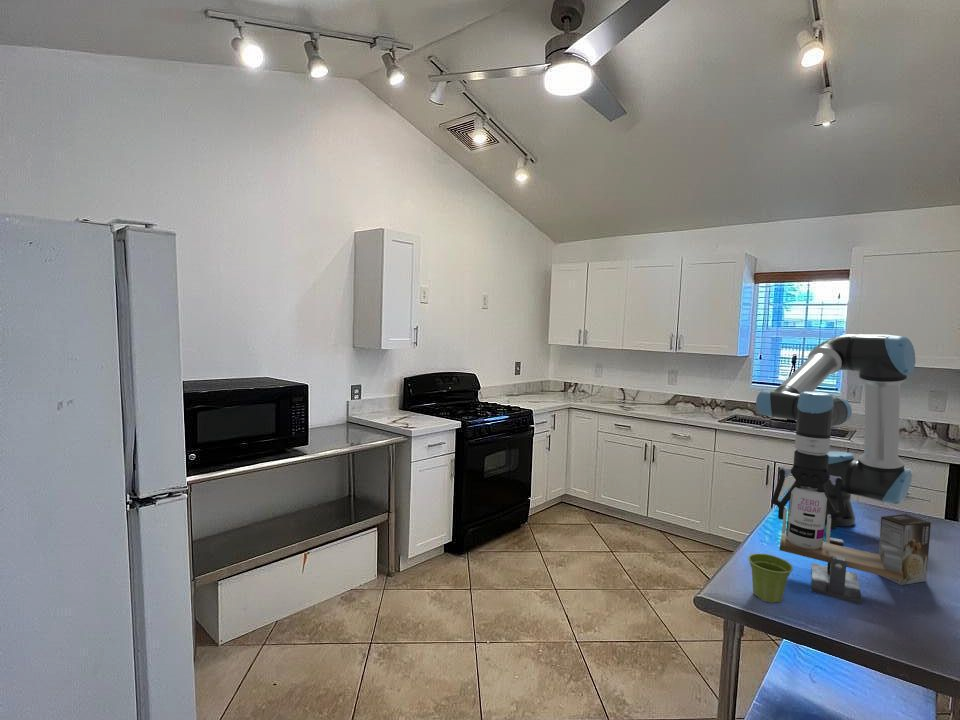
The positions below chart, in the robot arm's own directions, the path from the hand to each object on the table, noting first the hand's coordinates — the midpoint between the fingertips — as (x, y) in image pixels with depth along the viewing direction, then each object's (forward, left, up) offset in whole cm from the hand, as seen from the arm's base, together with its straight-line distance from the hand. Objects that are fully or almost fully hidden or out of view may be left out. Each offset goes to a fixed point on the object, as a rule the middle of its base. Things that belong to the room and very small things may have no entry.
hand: (805, 536), depth 134 cm
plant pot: (+17, -7, -11) cm, 22 cm away
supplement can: (0, 0, -2) cm, 2 cm away
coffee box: (-15, +22, -11) cm, 29 cm away
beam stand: (0, +7, -11) cm, 13 cm away
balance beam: (0, +7, -3) cm, 8 cm away
